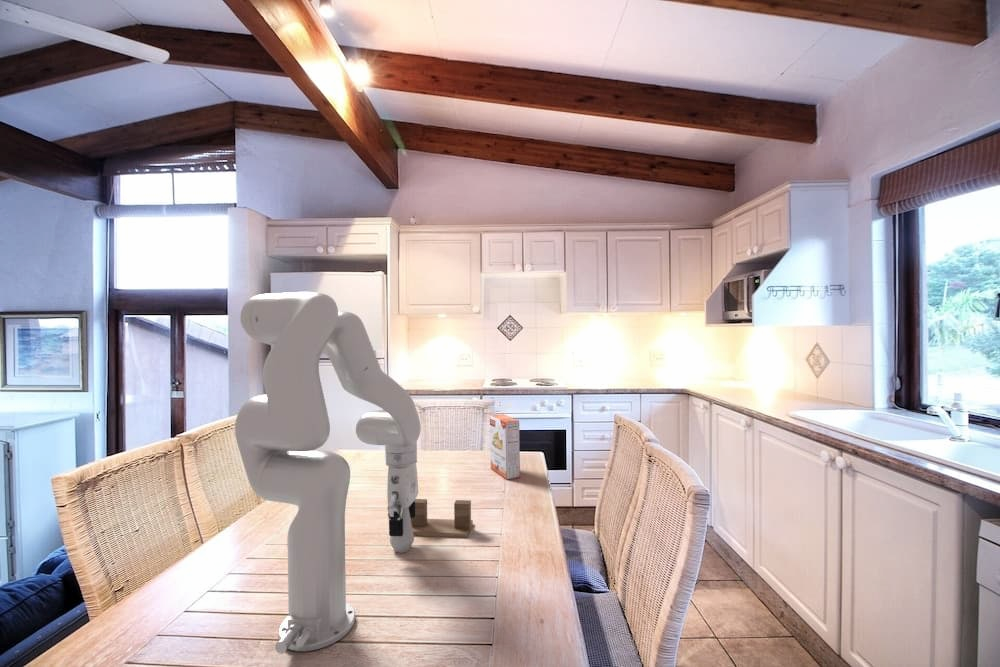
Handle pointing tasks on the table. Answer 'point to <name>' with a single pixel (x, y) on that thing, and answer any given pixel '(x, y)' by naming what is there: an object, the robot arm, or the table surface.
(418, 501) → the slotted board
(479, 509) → the table surface
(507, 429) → the cracker box
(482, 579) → the table surface
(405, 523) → the salt shaker
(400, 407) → the robot arm
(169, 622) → the table surface
